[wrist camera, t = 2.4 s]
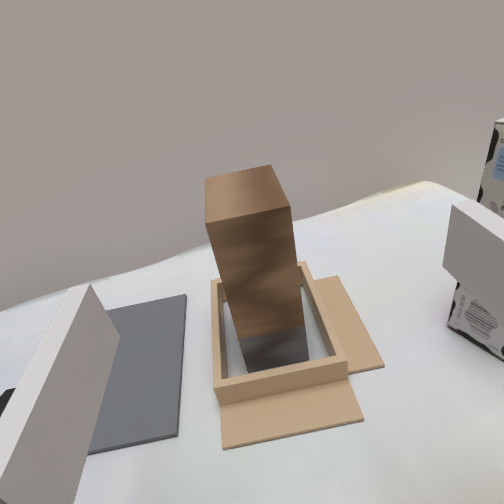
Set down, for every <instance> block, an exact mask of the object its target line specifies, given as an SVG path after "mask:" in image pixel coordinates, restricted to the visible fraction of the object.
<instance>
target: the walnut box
mask: <svg viewBox="0 0 504 504" xmlns="http://www.w3.org/2000/svg"><path fill="white" fill-rule="evenodd" d="M205 224H206V228H207V232H208V235H209V239H210V242H211V246H212V249H213V253H214V256H215V260H216V263H217V266H218V270H219V273H220V277H221V280H222V284H223V287H224V291H225V294H226V298H227V301H228V305H229V308H230V312H231V315H232V319H233V322H234V326H235V329H236V332H237V336H238V339H239V343H240V346H241V350H242V353H243V357H244V360H245V364H246V367H247V371H248V373H250V372H254V371H259V370H264V369H269V368H273V367H278V366H283V365H288V364H293V363H297V362H302V361H307V360H309V356H308V348H307V339H306V331H305V323H304V315H303V307H302V299H301V290H300V282H299V274H298V266H297V258H296V250H295V241H294V233H293V225H292V217H291V209H290V204H289V202H288V200H287V198H286V196H285V194H284V192H283V190H282V188H281V185H280V183H279V181H278V179H277V177H276V175H275V173H274V170H273V168H272V166H271V165H266V166H261V167H257V168H252V169H247V170H243V171H238V172H233V173H229V174H223V175H219V176H214V177H209V178H205Z"/></svg>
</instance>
